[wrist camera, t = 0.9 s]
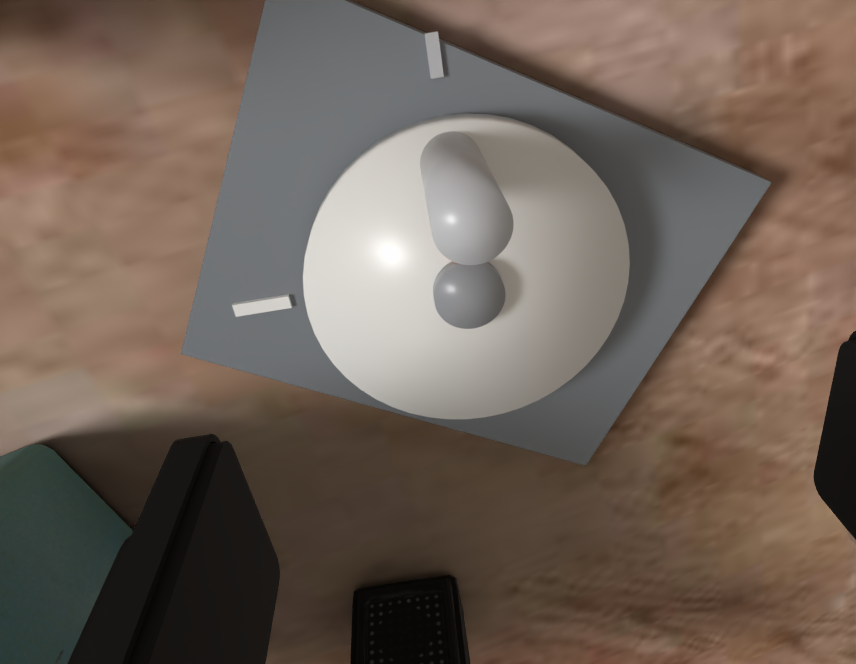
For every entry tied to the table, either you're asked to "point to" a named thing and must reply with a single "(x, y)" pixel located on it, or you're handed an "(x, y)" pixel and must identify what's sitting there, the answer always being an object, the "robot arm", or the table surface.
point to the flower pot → (50, 555)
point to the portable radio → (409, 623)
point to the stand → (399, 107)
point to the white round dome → (465, 267)
